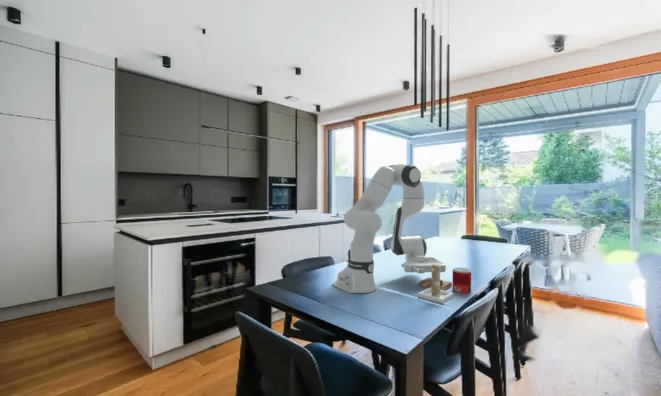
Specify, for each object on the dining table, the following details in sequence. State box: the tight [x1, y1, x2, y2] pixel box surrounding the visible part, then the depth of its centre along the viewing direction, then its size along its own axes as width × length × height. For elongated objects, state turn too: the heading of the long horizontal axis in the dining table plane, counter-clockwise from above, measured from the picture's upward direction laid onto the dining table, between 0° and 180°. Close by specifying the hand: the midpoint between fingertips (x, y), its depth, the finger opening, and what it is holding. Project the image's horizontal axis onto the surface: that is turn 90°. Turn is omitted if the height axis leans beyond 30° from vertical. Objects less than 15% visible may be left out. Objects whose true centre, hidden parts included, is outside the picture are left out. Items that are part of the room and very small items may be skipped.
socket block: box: [418, 277, 453, 291], centre depth 148 cm, size 12×10×5 cm
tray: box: [417, 287, 454, 306], centre depth 133 cm, size 11×11×2 cm
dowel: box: [431, 264, 441, 298], centre depth 133 cm, size 4×4×14 cm
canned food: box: [452, 267, 472, 295], centre depth 140 cm, size 8×8×11 cm
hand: (429, 271), depth 141 cm, fingers open, 8 cm apart
